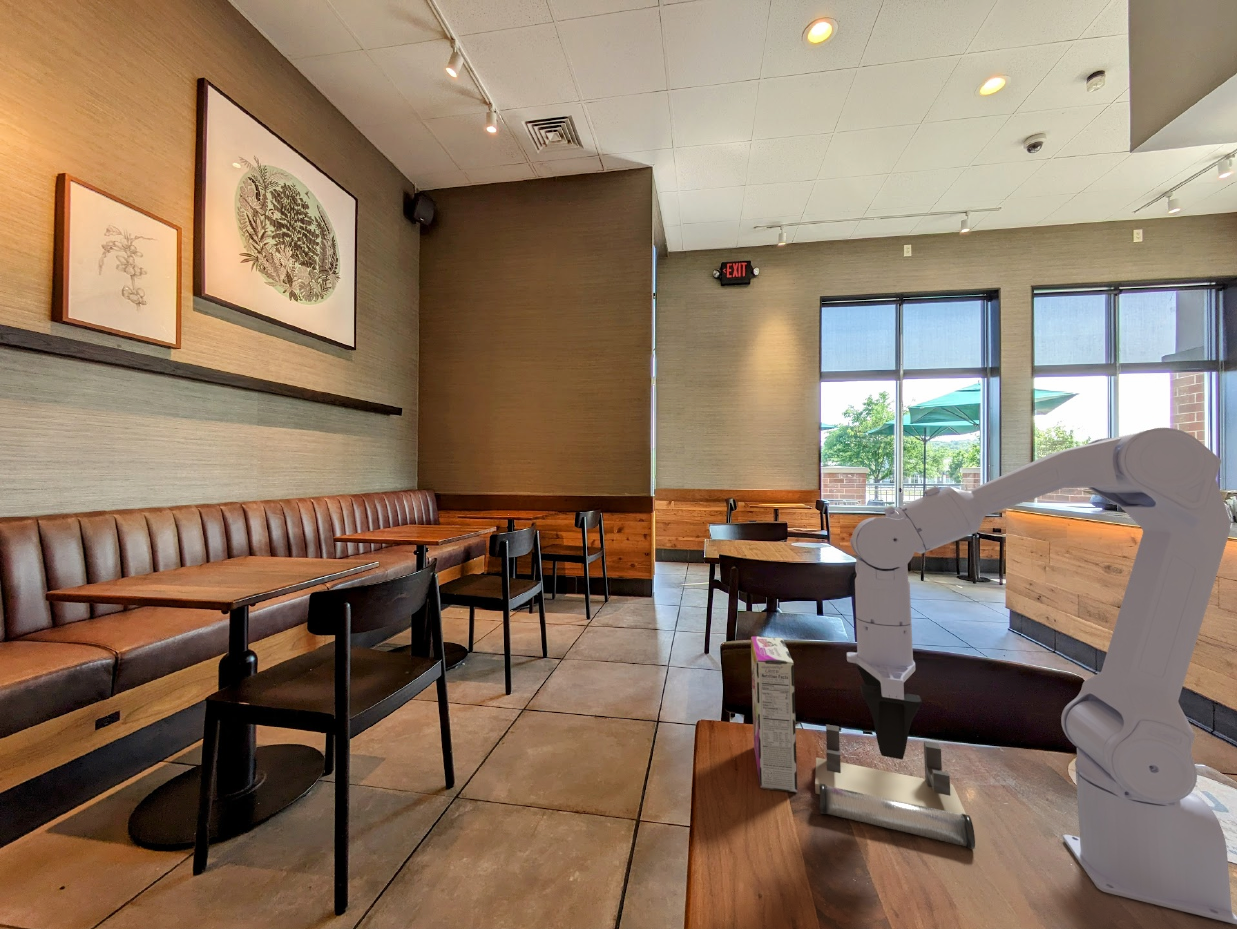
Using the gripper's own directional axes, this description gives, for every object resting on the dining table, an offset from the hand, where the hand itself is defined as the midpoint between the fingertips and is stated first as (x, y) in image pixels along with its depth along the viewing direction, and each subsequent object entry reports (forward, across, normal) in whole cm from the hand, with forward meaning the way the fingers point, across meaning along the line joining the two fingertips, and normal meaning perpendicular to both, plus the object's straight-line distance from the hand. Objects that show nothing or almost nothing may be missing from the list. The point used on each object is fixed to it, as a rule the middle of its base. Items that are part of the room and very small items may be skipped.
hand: (887, 740), depth 56 cm
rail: (+8, 0, 0) cm, 8 cm away
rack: (+9, -6, 0) cm, 11 cm away
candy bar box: (+10, -7, -14) cm, 18 cm away
